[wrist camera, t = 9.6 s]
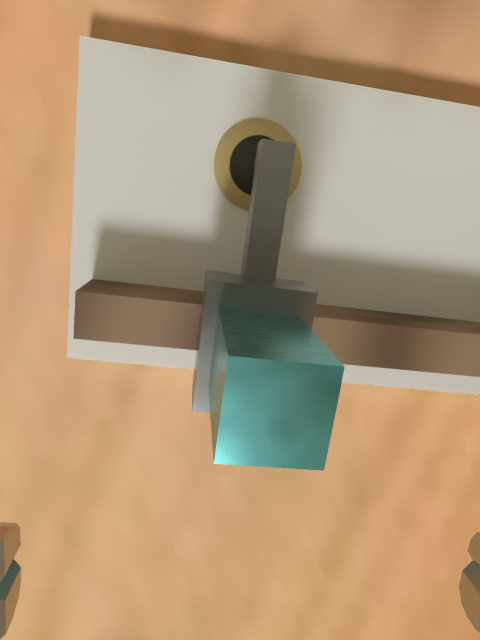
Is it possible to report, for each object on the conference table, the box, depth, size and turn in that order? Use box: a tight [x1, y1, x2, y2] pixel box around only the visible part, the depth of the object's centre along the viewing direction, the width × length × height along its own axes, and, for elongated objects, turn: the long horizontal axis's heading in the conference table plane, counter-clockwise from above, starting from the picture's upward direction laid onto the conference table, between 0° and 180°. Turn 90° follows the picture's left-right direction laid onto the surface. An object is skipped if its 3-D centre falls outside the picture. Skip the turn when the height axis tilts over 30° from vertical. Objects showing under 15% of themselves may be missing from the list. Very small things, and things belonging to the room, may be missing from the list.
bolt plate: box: [67, 36, 480, 395], centre depth 22 cm, size 30×14×2 cm, turn 82°
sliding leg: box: [192, 139, 345, 470], centre depth 16 cm, size 4×10×10 cm, turn 172°
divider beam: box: [73, 279, 480, 377], centre depth 19 cm, size 28×10×7 cm, turn 82°
